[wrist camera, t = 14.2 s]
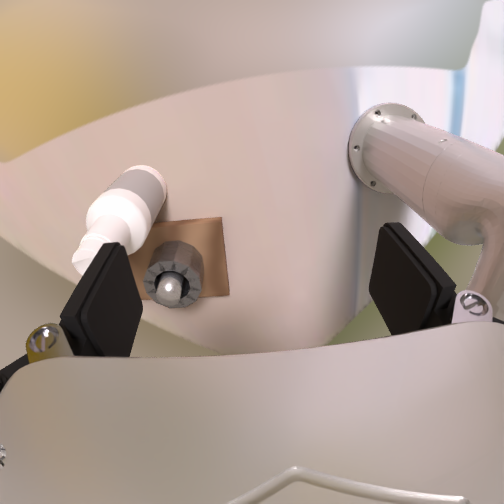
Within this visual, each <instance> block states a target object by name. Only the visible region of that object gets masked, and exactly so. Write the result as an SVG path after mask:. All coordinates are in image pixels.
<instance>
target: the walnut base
mask: <svg viewBox="0 0 504 504" xmlns="http://www.w3.org/2000/svg"><path fill="white" fill-rule="evenodd" d="M177 240H180V241H183V242H185V243H188V244H190V245H193V246H194V247H195V248H196V249H197V250H198V252H199V253H200V254H201V255H202V257H203V263H204V274H203V283H202V291H201V293H200V294H199V296H198V297H207V296H223V295H229V281H228V273H227V264H226V255H225V245H224V236H223V226H222V217H216V218H204V219H192V220H181V221H170V222H159V223H153V225H152V227H151V229H150V231H149V234H148V236H147V238H146V240H145V242H144V243H143V245H142V247H140V248H139V249H138V250H137V251H136V252H135V253H132V254H130V255H128V259H129V262H130V266H131V269H132V272H133V276H134V279H135V282H136V285H137V288H138V292H139V295H140V298H141V300H148V299H152V298H151V297H150V296H149V295H148V294H147V293H146V290H145V287H144V283H143V279H144V276H145V274H146V271H147V268H148V265H149V263H150V260H151V257H152V255H153V252H154V250H155V248H157V247H158V246H160V245H161V244H163V243H164V242H165V241H177ZM184 277H185V276H184Z"/></svg>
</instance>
